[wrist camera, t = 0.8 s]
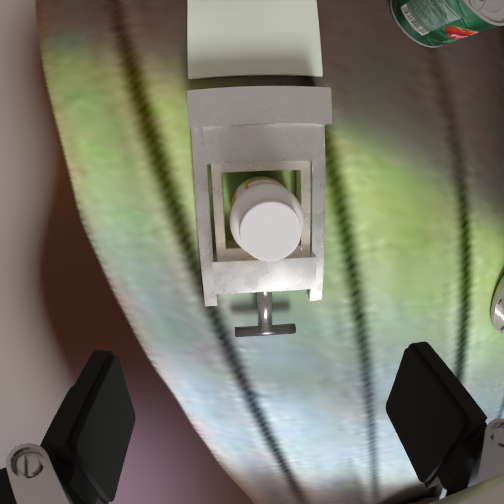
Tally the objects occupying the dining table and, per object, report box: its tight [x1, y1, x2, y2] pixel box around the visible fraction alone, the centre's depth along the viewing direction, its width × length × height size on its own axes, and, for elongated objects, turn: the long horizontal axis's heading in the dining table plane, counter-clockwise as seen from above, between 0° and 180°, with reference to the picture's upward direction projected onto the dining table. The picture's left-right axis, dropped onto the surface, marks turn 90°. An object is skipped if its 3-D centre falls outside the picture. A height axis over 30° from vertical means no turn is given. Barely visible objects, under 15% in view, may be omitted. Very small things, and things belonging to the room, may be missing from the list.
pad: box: [188, 0, 323, 79], centre depth 23 cm, size 12×12×1 cm
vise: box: [187, 86, 332, 337], centre depth 28 cm, size 12×23×4 cm, turn 2°
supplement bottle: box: [230, 176, 304, 261], centre depth 25 cm, size 5×5×10 cm
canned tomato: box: [390, 0, 504, 48], centre depth 18 cm, size 8×8×11 cm
